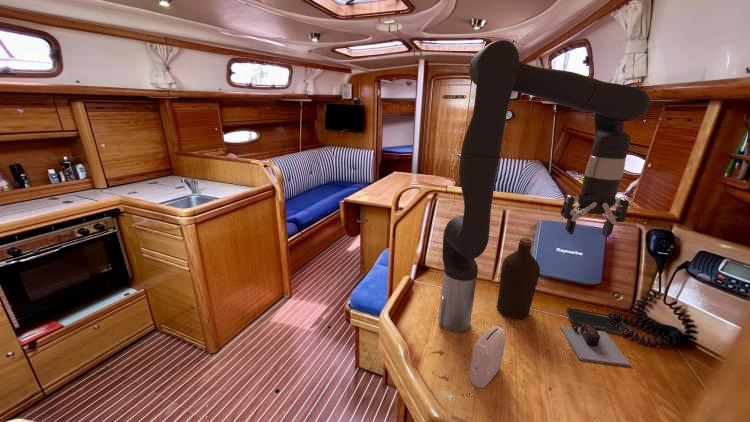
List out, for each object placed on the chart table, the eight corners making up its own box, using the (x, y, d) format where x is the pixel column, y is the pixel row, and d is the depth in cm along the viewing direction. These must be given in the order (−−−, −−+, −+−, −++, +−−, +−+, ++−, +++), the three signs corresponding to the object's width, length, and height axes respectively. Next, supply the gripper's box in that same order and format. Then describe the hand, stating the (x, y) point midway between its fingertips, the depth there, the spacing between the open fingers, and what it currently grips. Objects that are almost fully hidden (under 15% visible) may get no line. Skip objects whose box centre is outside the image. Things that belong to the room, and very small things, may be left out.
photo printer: (482, 392, 69) (490, 350, 65) (466, 380, 72) (472, 339, 68) (502, 367, 76) (510, 327, 72) (486, 357, 79) (493, 318, 75)
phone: (565, 307, 98) (620, 317, 93) (564, 310, 98) (619, 320, 94) (571, 322, 91) (631, 334, 86) (570, 325, 91) (630, 337, 87)
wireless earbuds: (588, 330, 88) (591, 321, 87) (598, 348, 82) (601, 338, 81) (570, 327, 89) (573, 318, 88) (578, 344, 83) (581, 334, 82)
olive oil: (520, 326, 90) (536, 251, 82) (488, 309, 98) (499, 238, 90) (536, 312, 96) (552, 241, 88) (505, 296, 104) (517, 230, 96)
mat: (578, 359, 79) (579, 357, 78) (560, 328, 90) (560, 326, 90) (630, 366, 77) (630, 364, 76) (604, 333, 88) (605, 331, 88)
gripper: (625, 173, 78) (608, 231, 83) (565, 170, 80) (552, 227, 85) (645, 179, 71) (625, 242, 76) (578, 176, 73) (564, 238, 78)
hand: (587, 234), depth 81 cm, fingers open, 8 cm apart
